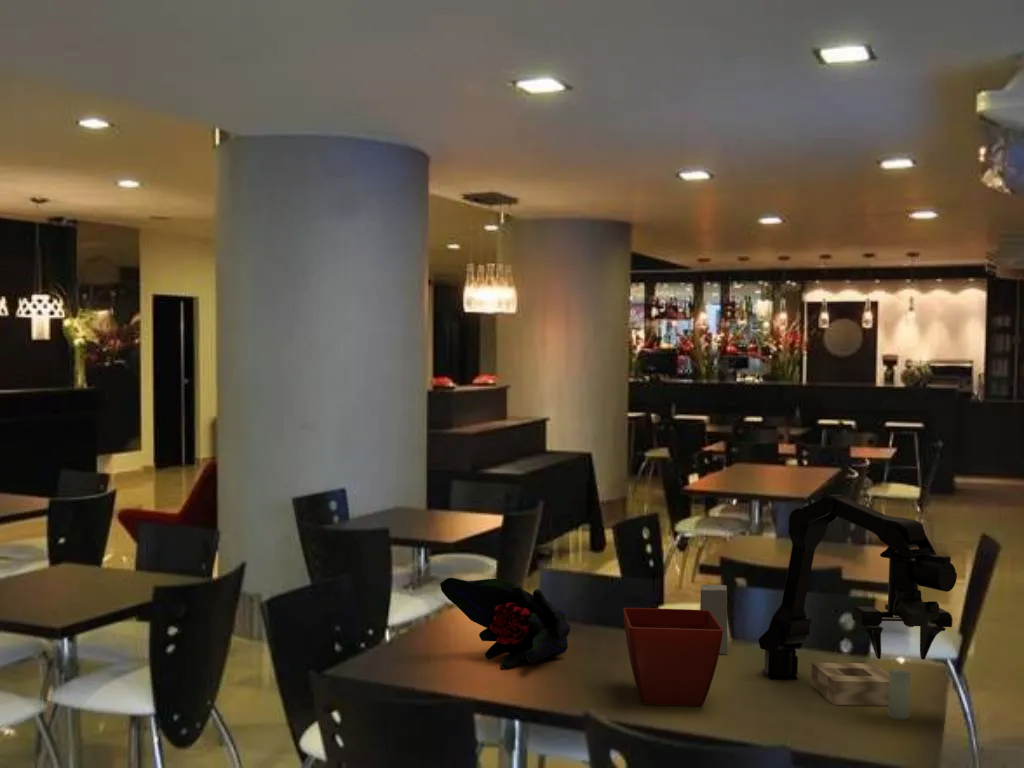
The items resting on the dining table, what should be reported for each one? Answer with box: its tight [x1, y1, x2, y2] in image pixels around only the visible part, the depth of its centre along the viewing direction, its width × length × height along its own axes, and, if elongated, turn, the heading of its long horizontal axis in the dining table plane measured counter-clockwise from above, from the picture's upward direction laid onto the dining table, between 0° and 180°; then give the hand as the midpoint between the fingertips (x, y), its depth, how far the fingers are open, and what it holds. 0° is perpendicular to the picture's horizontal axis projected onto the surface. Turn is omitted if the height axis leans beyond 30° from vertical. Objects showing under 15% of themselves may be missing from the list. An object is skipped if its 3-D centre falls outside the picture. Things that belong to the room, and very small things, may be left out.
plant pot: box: [622, 607, 723, 707], centre depth 231 cm, size 19×19×17 cm
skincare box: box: [699, 584, 729, 655], centre depth 271 cm, size 8×7×16 cm
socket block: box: [810, 662, 890, 706], centre depth 237 cm, size 14×14×5 cm
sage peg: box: [887, 668, 912, 720], centre depth 223 cm, size 4×4×9 cm
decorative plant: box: [439, 577, 571, 670], centre depth 254 cm, size 21×26×30 cm
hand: (900, 658), depth 223 cm, fingers open, 9 cm apart
